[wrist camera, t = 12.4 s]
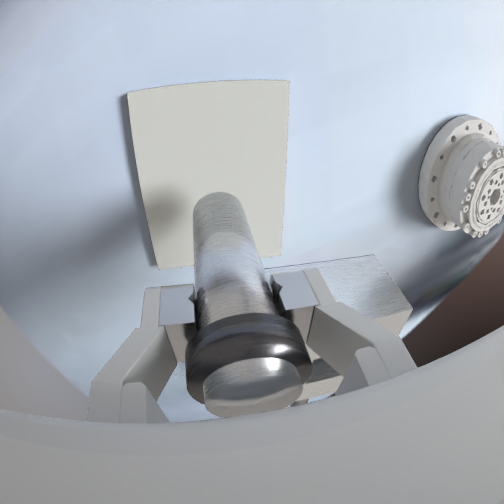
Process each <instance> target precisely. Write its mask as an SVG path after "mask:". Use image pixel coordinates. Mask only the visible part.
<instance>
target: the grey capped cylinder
mask: <svg viewBox="0 0 504 504" xmlns="http://www.w3.org/2000/svg"><path fill="white" fill-rule="evenodd" d="M193 251H194V275H195V294H196V310H197V324H198V332H196V333H195V334H194V335H193V336H192V338H191V339H190V340H189V342H188V344H187V346H186V349H185V366H186V383H187V390H188V392H189V394H190V395H191V396H192V398H194V399H195V400H196V401H198V402H200V403H202V404H205V407H206V409H207V410H208V411H209V412H210V413H212V414H214V415H216V416H219V417H223V418H227V417H235V416H242V415H249V414H255V413H261V412H267V411H272V410H277V409H282V408H285V407H287V406H289V405H290V404H292V403H293V402H295V401H296V400H297V399H298V398H299V397H300V395H301V394H302V392H303V386H302V385H303V384H305V382H306V381H307V380H308V379H309V377H310V375H311V373H312V369H313V365H312V362H311V359H310V356H309V354H308V351H307V348H306V346H305V343H304V340H303V338H302V335H301V332H300V330H299V328H298V327H297V326H296V325H295V324H294V323H293V322H292V321H290V320H288V319H286V318H284V317H281V316H279V313H278V310H277V307H276V304H275V301H274V298H273V295H272V292H271V289H270V286H269V283H268V280H267V277H266V274H265V271H264V268H263V265H262V262H261V259H260V256H259V253H258V250H257V247H256V244H255V241H254V238H253V235H252V232H251V229H250V226H249V223H248V220H247V217H246V214H245V211H244V208H243V206H242V204H241V202H240V201H239V200H238V199H237V198H236V197H235V196H233V195H231V194H229V193H226V192H213V193H210V194H207V195H206V196H204V197H202V198H201V199H200V200H199V201H198V202H197V203H196V205H195V207H194V210H193Z"/></svg>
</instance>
